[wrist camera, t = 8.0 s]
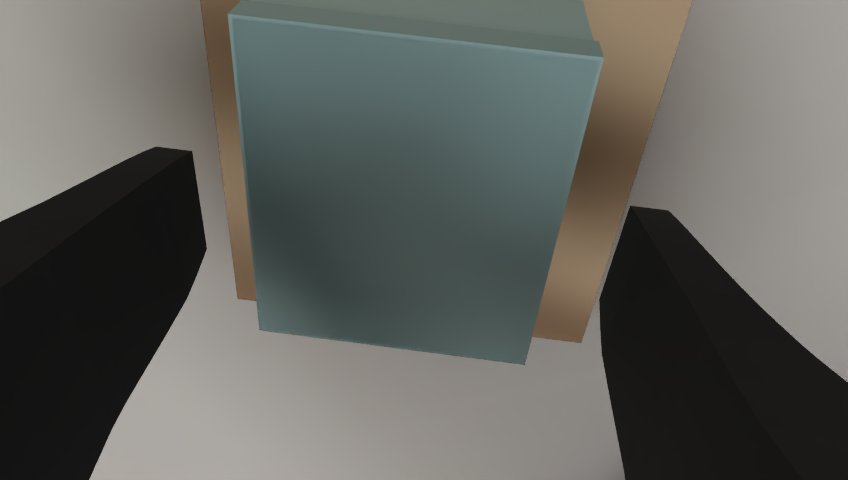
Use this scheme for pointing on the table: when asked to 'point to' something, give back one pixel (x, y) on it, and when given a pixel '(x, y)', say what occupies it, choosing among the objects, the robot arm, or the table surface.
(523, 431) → the table surface
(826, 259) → the table surface
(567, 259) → the thin wooden board
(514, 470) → the table surface
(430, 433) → the table surface
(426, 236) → the pale teal rectangular block
